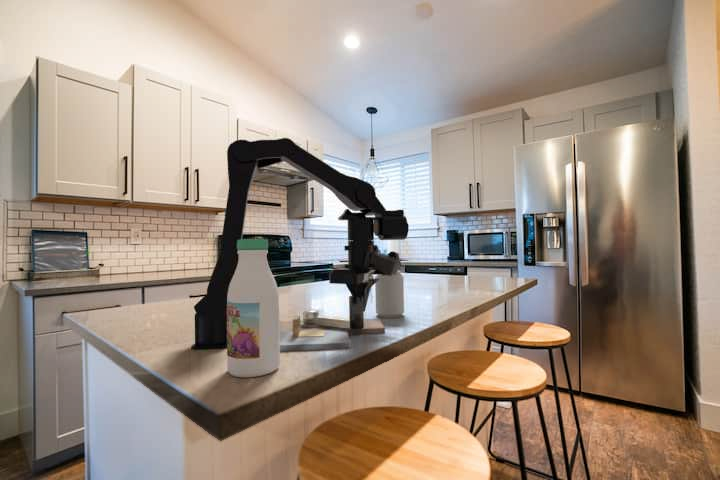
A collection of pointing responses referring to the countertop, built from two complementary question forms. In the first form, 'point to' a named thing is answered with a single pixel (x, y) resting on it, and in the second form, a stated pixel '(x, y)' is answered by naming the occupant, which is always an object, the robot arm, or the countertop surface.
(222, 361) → the countertop surface
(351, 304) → the lock bar
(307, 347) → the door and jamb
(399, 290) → the can
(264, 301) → the milk bottle
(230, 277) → the robot arm
